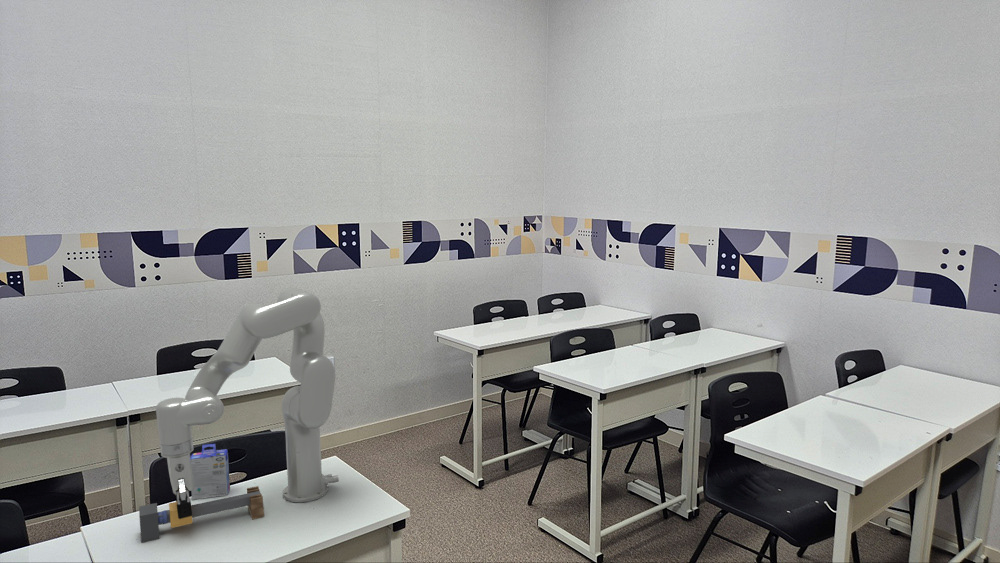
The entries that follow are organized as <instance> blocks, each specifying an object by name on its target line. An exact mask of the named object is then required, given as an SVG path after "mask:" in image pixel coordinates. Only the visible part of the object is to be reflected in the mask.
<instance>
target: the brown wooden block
mask: <svg viewBox="0 0 1000 563" xmlns="http://www.w3.org/2000/svg"><path fill="white" fill-rule="evenodd" d="M257 491H260V487H259V485H257V486H252V487H247V488H246V494H247V493H252V492H257ZM260 492H261V491H260ZM247 509H248V512H249V514H250V516H251V520H257V519H261V518H262V519H263V518H264V517H265V510H264V509H265V508H264V496H263V494H262V493H261V494H258V495H253V496H250V505H249V506H247Z"/></svg>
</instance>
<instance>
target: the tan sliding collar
mask: <svg viewBox="0 0 1000 563" xmlns="http://www.w3.org/2000/svg"><path fill="white" fill-rule="evenodd" d="M189 500H191V499H190V498H189ZM177 503H178V502H176V501H175V502H174V501H173V502H169V503H168V507H169V509H168V510H170V522H171V523H170V528H171V529H173V528H178V527H182V526H186V525H191V524H193V518H192V516H190V517H186V518H182V519H179V518H178V512H177ZM191 509H192V508H191Z"/></svg>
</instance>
